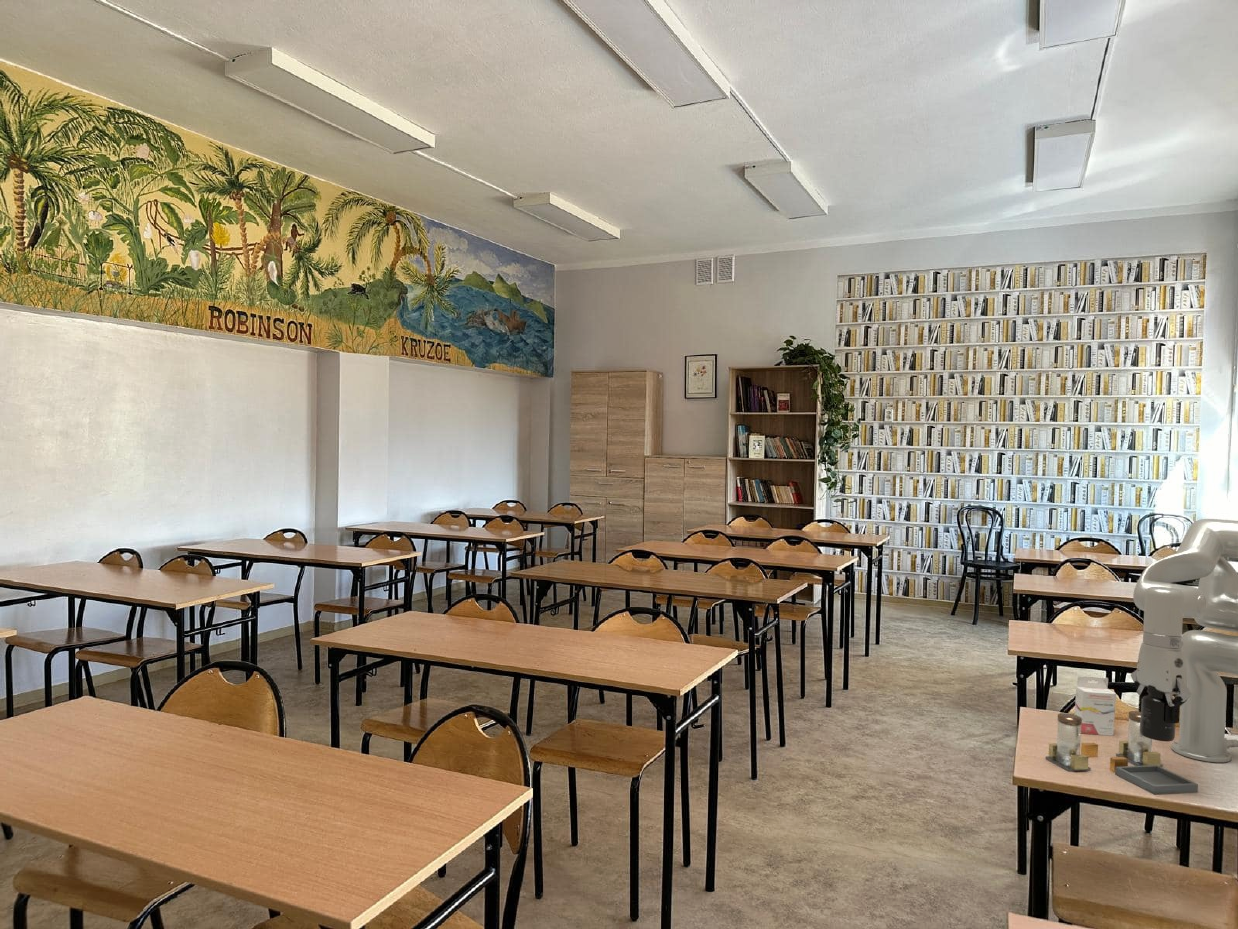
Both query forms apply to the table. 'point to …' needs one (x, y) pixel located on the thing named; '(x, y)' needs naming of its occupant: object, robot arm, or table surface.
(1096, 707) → the ink cartridge box
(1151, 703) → the supplement bottle
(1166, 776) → the tray
